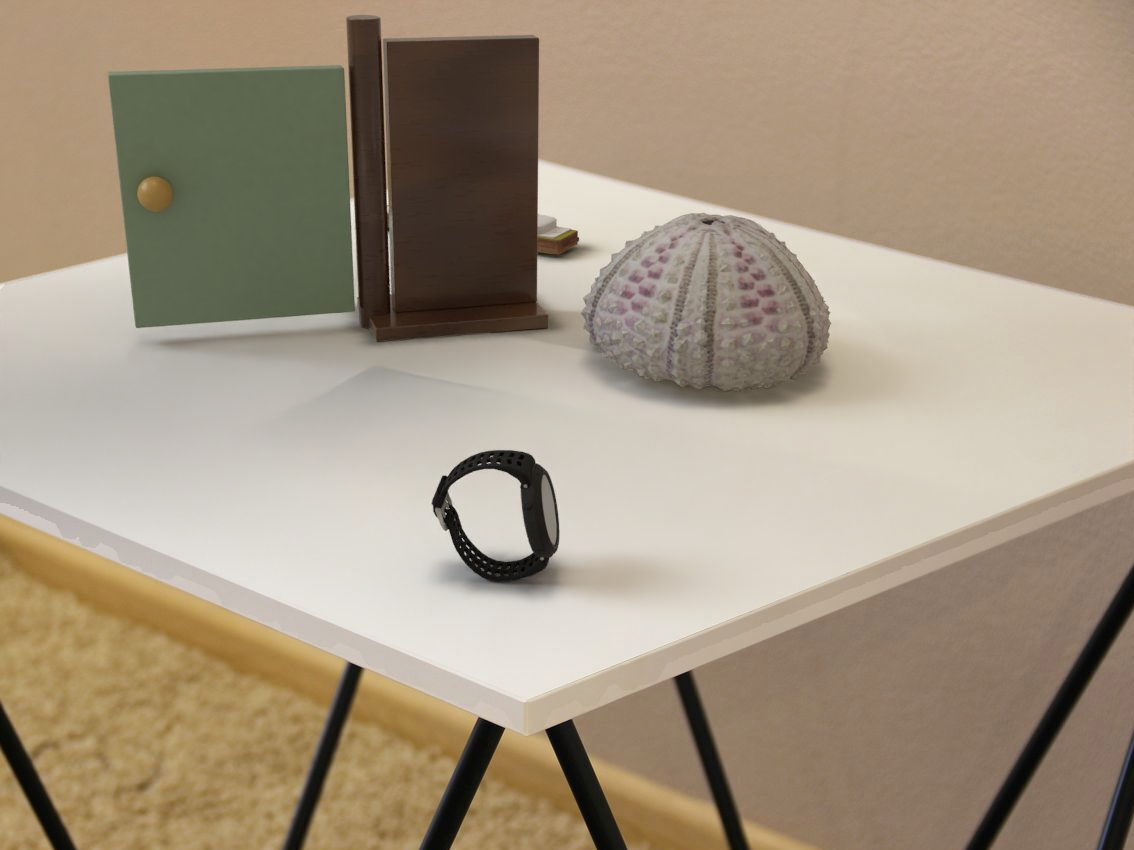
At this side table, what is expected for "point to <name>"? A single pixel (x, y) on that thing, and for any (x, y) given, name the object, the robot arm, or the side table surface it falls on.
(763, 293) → the sea urchin shell
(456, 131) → the door frame
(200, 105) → the door
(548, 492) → the smartwatch
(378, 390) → the side table surface
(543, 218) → the harmonica
